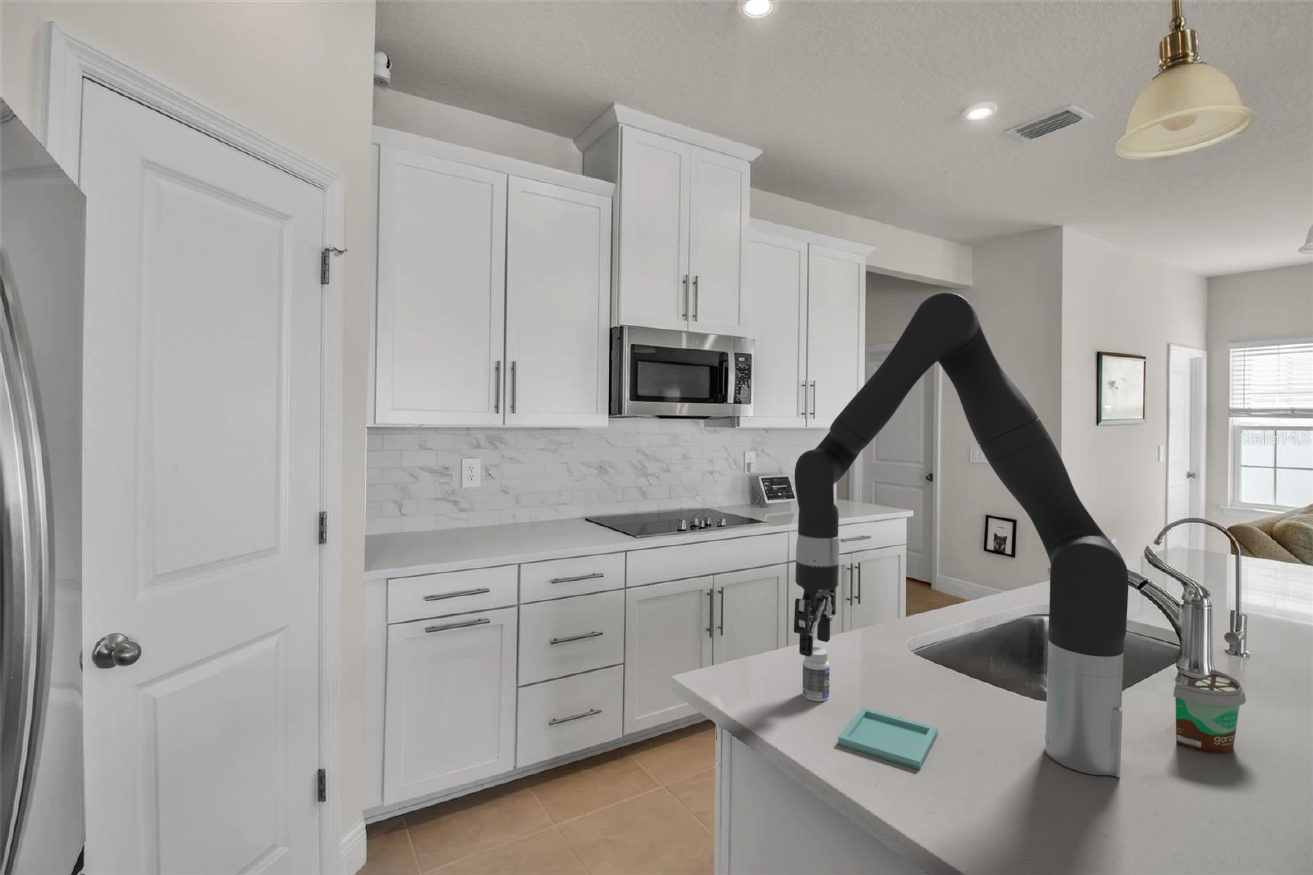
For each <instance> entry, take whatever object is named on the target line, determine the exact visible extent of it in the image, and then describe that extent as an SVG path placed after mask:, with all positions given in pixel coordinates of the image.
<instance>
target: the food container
mask: <svg viewBox="0 0 1313 875" xmlns="http://www.w3.org/2000/svg"><path fill="white" fill-rule="evenodd" d="M1209 671H1210V673H1209V674H1208V675H1206V676H1205V677H1201V678H1200V677H1198V678H1194V679H1193V680H1191V681H1190V682H1189V683H1187V684H1181V683H1178V682H1175V686H1174V688H1173V689H1174V690H1173V695H1172V696H1173V697H1174V698H1175V744H1176V746H1179V747H1182V748H1185V749H1188V750H1193V751H1195V752H1199V753H1205V754H1211V755H1213V754H1214V755H1227V754H1231V753H1232V752H1233V750H1234V745H1235V738H1236V731H1237V724H1238V718H1239V712H1240V706H1242V705H1244V704H1246V702H1247V698H1246V694H1245V690H1244V688H1243V687H1242V684H1241V682H1240V681H1238V679H1236V678H1235V677H1233V676H1231V675H1229V674H1227V673H1224V672H1221V671H1219V670H1215V669H1212V668H1210V670H1209Z"/></svg>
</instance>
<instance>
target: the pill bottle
mask: <svg viewBox="0 0 1313 875" xmlns="http://www.w3.org/2000/svg"><path fill="white" fill-rule="evenodd" d="M828 658H829V657H828V651H827V649H825V648H823V647H818V646H817V647H816V646H813V654H812V655H811V656H810V657H808V656H804V659H803V661H802V695H803V697H804V698H805V699H807V700H809V701H813V702H826V701H827V700H828V699H829V698H830V662H829V661H828Z"/></svg>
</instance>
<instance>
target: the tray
mask: <svg viewBox="0 0 1313 875" xmlns="http://www.w3.org/2000/svg"><path fill="white" fill-rule="evenodd" d="M938 731H939V729H938V727H937V726H934V725H929V724H926V723H922V722H917V721H915V720H911V719H907V718H904V717H900V716H896V715H892V714H889V713H885V712H882V711H881V712H880V711H877V710H874V709H870V708H866V707H863V706H862V707H861V708H860V710H858V711H857V713H856V714H855V716H854V717H853V719H851V721H850V722H849V723H848V724H847V725H846V727H845V728H844V730H842V732H841V733H840V734H839V736H838V737H837V744H838V745H839V746H842V747H845V748H847V749H851V750H854V751H858V752H860V753H863V754H867V755H871V756H874V757H877V758H880V759H883V760H887V761H890V762H893V763H895V764H899V765H902V766H906V767H909V768H912V769H915V770H919V771H920V770H921V769H922V766H923V765H924V762H925V761H926V758H927V757H928V755H929V753H930V751H931V750H932V749H931V748H932V747H933V745H934V743H935V741H936V739H937V737H938Z"/></svg>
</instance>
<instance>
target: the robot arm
mask: <svg viewBox="0 0 1313 875" xmlns="http://www.w3.org/2000/svg"><path fill="white" fill-rule="evenodd" d="M977 314H978V313H977V312H976V311H975V308H974V307H973V305H972V304H971V302H969V300H968V299H966V297H964V296H962V295H960V294H958V293H954V292H939V293H937V294H933V295H931V296H929V297H927V298H926V299H924V300H923V301H922V303H920V305H919V306H918V307H917V309H916V310H915V312H914V314H913V316H912V317H911V319H910V321H908V322H909V323H908V324H907V326H906V327H905V328H904V331H903V332H902V334H901V336H900V337H899V339H898V341H897V342H896V344H894V347H893V348H892V350H891V351H890V352H889V354H888V355H887V356H886V358H885V359H884V361H882V363H881V365H880V366H879V367H878V368H877V369H876V371H875V372H874V373H873V374H872V376H871V377H870V378H869V379H868V380H867V382H865V384H864V385H862V387H861V388H860V389H859V391H858V392H857V393H856V394H855V395H854V396H853V398H851V400H850V401H849V402H848V403H847V405H846V406H845V407H844V408H843V409H842V411H840V413H839V414H838V415H837V416H836V418H835V419H834V420H833V422H832V423H831V425H830V427H829V432H828V433H827V434H826V436H824V438H823V439H822V441H821V442H820V443H819V444H818V445H817V446H816V447H815V448H814V449H811V450H810V449H809V450H806V451H805V452H803V453H802V454H800V455H799V457H798V458H797V461H796V462H795V468H794V486H795V487H794V488H795V494H796V500H797V505H798V516H797V517H798V519H797V520H798V522H797V538H796V546H795V580H794V581H795V584H796V585H797V586H799V587H801V588H802V590H803V594H802V597H801V598H796V599H795V600H794V615H793V616H794V618H793V633H795V634H799V645H798V646H799V647H798V648H799V650H798V652H799V654H800V655H801V656H804V657H805V656H808V657H810V656H811V655H812V654H813V647H814V633H815V628H816V626H817V629H816V630H817V631H816V632H817V633H816V638H817V640H818V641H819V642H823V643H824V642H825V643H828V642H829V641H831V622H832V620H833V616H836V614H837V608H836V607H837V587H838V586H839V578H840V577H839V573H840V572H839V570H840V568H839V567H840V543H839V525H840V524H839V517H840V516H839V508H838V506H837V505H836V504H835V496H834V495H835V493H834V492H835V491H834V489H835V488H834V486H835V484H836V483H837V482H838V481H839V480H841V478H842V477H844V475H845V474H846V473H847V472H848V470H849V469H850V467H851V466H852V464H853V463H854V462H855V460H856V459H857V458H858V456H859V454H860V453H861V452H862V451H863V450H864V448H866V447H867V446H868V445H869V444H870V443H871V442H872V441H873V440H874V438H875V437H876V436H877V435H878V433H880V432H881V430H882V429H883V428H884V427H885V426H886V425H887V423H888V422H890V419H891V418H892V417H893V416H894V414H896V411H897V410H898V408H899V407H900V406H901V405H902V403H903V401H904V400H905V398H906V397H907V395H908V393H909V392H910V391H911V390H912V388H913V387H914V386H915V385H916V383H917V382H918V381H919V380H920V378H922V377H923V376H924V374H925V373H927V371H928V370H929V369H930V368H931V367H932V366H933V365H934V364H936V363H937V362H938V363H939V365H940V366H941V368H942V369H943V371H944V372H945V373H946V375H947V377H948V378H949V380H950V381H951V383H952V384H953V386H954V388H955V391H956V393H957V396H958V398H959V402H960V403H961V407H962V409H963V412H964V415H965V418H966V420H967V423H968V426H969V427H970V429H971V432H972V434H973V437H974V438H975V440H976V442H977V444H978V445H979V448H980V450H981V452H982V453H983V455H984V456H985V458H986V460H987V463H989V465H990V467H991V468H992V470H993V471H994V473H995V474H996V476H997V477H998V478H999V480H1000V481H1001V483H1002V484H1003V485H1004V487H1005V489H1007V490H1008V492H1010V494H1011V495H1012V496H1013V497H1014V499H1015V500H1016V501H1017V502H1018V503H1019V505H1021V507H1022V508H1023V509H1024V511H1025V512H1026V514H1027V516H1029V518H1030V520H1031V522H1032V524H1033V526H1034V529H1035V530H1036V532H1037V534H1038V536H1039V538H1040V540H1041V542H1042V544H1043V547H1044V549H1045V552H1046V554H1047V556H1048V560H1049V563H1050V569H1049V570H1050V571H1049V574H1050V575H1049V607H1048V608H1049V609H1048V610H1049V611H1048V634H1047V635H1048V636H1047V637H1048V640H1047V642H1048V644H1047V673H1046V674H1047V675H1046V676H1047V677H1046V706H1045V709H1046V712H1045V734H1044V735H1045V736H1044V740H1045V746H1044V747H1045V748H1044V749H1045V752H1046V754H1047V755H1048V756H1049V757H1050V758H1051V759H1052V760H1053V761H1055V762H1056V763H1059V764H1060V765H1061V766H1064V767H1066V768H1069V769H1071V770H1074V771H1076V772H1080V773H1084V774H1089V775H1095V776H1096V775H1097V776H1113V777H1116V778H1120V777H1121V762H1122V734H1123V733H1122V732H1123V729H1122V728H1123V706H1122V705H1123V704H1122V703H1123V702H1122V700H1123V678H1124V675H1123V674H1124V672H1123V671H1124V650H1125V638H1126V635H1127V626H1128V625H1127V623H1128V604H1129V571H1128V568H1127V565H1126V563H1125V560H1124V558H1123V557H1122V555H1121V553H1120V551H1119V550H1118V549H1117V547H1116V546H1115V544H1113V543H1112V542H1111V541H1110V539H1109V538H1108V537H1107V535H1106V534H1105V532H1103V531H1102V530H1103V529H1101V528H1100V526H1099V525H1098V524H1097V523H1096V521H1095V519H1094V518H1093V517H1092V516H1091V514H1090V513H1089V511H1088V510H1087V509H1086V507H1085V505H1084V504H1083V502H1082V501H1081V498H1079V496H1078V494H1077V491H1076V490H1075V487H1074V485H1073V483H1072V480H1071V478H1070V476H1069V472H1068V470H1067V467H1066V466H1065V463H1064V461H1063V459H1062V457H1061V455H1060V453H1059V451H1058V449H1057V446H1056V445H1055V443H1054V441H1053V439H1052V437H1051V436H1050V434H1049V432H1048V430H1047V429H1046V427H1045V426H1044V424H1043V422H1042V421H1041V419H1040V418H1039V416H1038V414H1037V412H1036V411H1035V410H1034V408H1033V406H1032V405H1031V404H1030V403H1029V401H1028V400H1027V398H1026V397H1025V396H1024V394H1023V393H1022V392H1021V390H1020V389H1019V388H1018V387H1017V385H1016V384H1015V383H1014V382H1013V381H1012V380H1011V378H1010V377H1009V376H1008V374H1007V373H1006V372H1005V370H1003V368H1002V367H1001V366H1000V364H999V361H998V360H997V358H996V356H995V355H994V353H993V350H992V349H991V346H990V344H989V343H988V342H989V341H988V340H987V338H986V335H985V334H984V331H983V329H982V326H981V323H980V321H979V317H978V315H977Z"/></svg>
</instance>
